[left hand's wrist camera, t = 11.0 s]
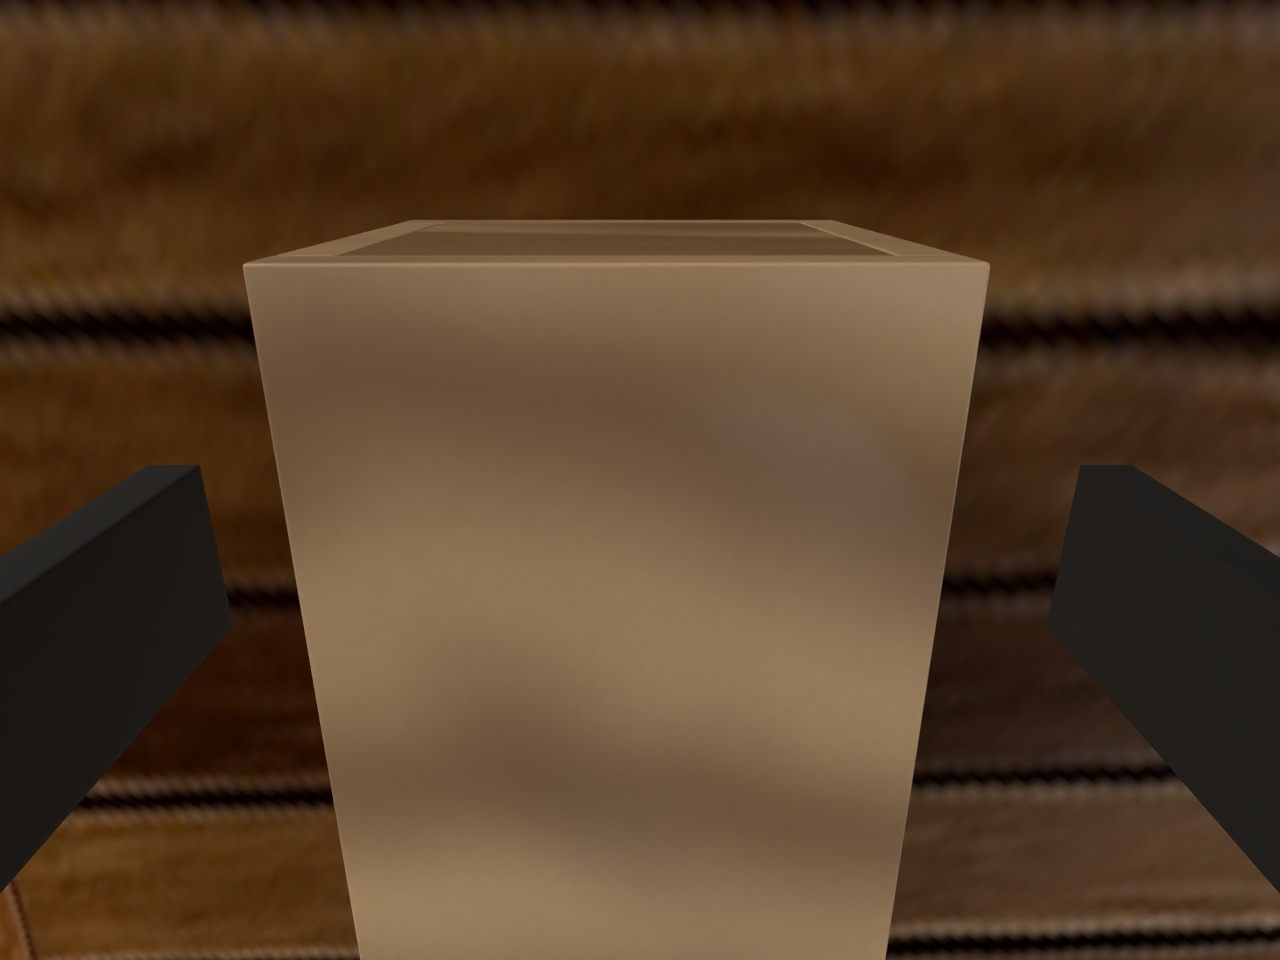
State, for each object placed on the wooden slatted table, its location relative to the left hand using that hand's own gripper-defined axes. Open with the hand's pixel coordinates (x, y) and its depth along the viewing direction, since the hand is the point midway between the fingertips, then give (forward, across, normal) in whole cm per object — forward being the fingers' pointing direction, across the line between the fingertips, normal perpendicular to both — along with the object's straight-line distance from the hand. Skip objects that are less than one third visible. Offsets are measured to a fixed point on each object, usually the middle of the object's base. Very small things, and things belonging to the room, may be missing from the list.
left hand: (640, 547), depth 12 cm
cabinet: (+12, 0, -7) cm, 14 cm away
